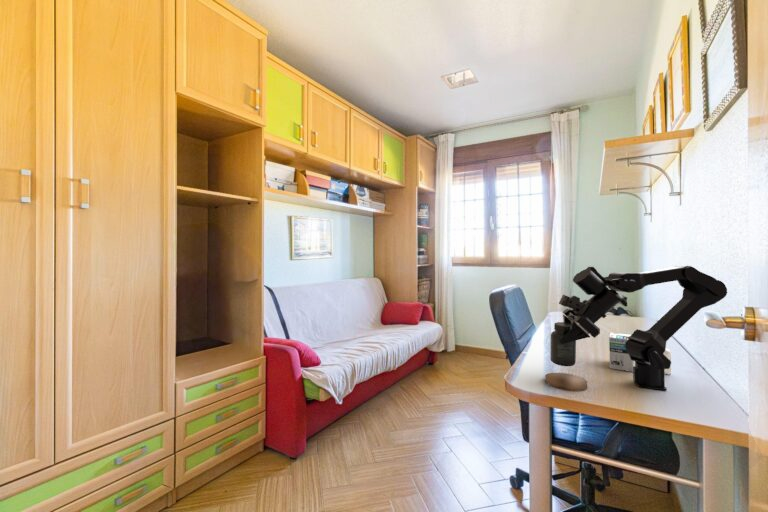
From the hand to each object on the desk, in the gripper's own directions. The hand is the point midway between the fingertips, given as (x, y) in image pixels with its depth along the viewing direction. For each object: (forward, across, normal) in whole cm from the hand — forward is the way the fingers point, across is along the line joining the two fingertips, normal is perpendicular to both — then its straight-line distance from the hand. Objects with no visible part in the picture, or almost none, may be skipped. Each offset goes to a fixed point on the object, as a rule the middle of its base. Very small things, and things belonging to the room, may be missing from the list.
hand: (558, 340), depth 100 cm
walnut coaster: (+8, +2, +10) cm, 13 cm away
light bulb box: (-8, -22, +26) cm, 35 cm away
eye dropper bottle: (-15, -18, +33) cm, 40 cm away
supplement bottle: (+4, -1, +6) cm, 7 cm away
